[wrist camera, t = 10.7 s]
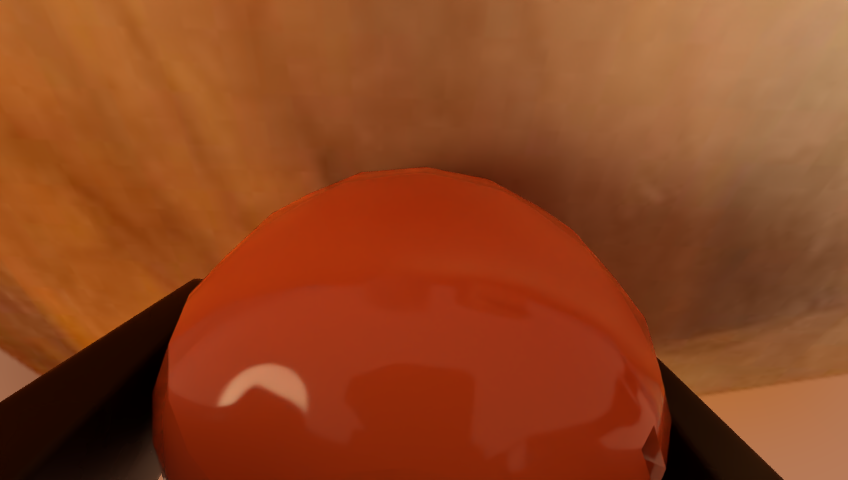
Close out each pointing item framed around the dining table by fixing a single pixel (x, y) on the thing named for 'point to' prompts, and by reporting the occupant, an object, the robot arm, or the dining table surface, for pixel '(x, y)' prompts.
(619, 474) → the tomato
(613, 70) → the dining table surface
